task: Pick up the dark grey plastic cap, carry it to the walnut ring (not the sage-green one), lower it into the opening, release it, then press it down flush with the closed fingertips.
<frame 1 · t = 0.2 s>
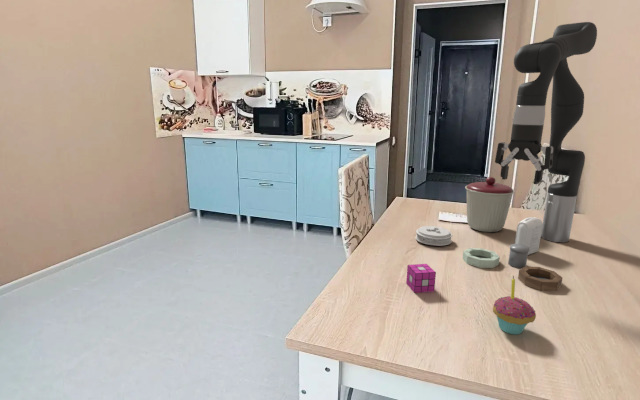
hand: (519, 181, 109), 28 cm above the table, tool pointing down, fingers open, 8 cm apart
photo printer: (525, 253, 132), on the table
lid: (432, 242, 141), on the table
walnut ring: (539, 282, 110), on the table
cupcake: (511, 329, 87), on the table
cap: (516, 264, 122), on the table
canister: (484, 228, 156), on the table
puzzle toy: (419, 288, 106), on the table
sage ring: (480, 261, 124), on the table
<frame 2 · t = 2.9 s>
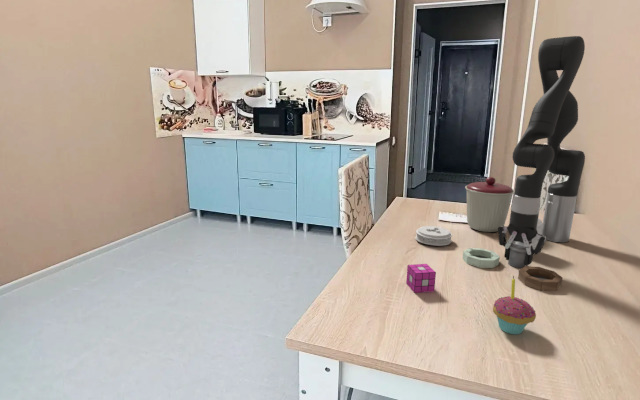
hand: (517, 261, 121), 1 cm above the table, tool pointing down, fingers closed on cap, 5 cm apart
cap: (516, 264, 122), on the table, touching gripper
everything else where it was.
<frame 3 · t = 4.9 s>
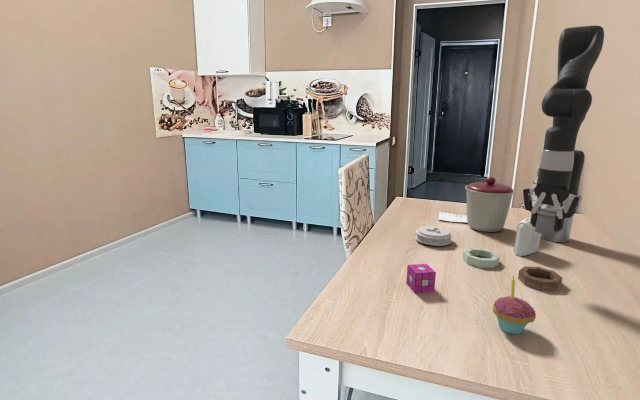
hand: (545, 228, 106), 16 cm above the table, tool pointing down, fingers closed on cap, 5 cm apart
cap: (544, 231, 106), point 15 cm above the table, touching gripper
everything else where it was.
when the fingers open (3 cm above the table, at t = 7.0 s): cap drops 1 cm, resting on walnut ring.
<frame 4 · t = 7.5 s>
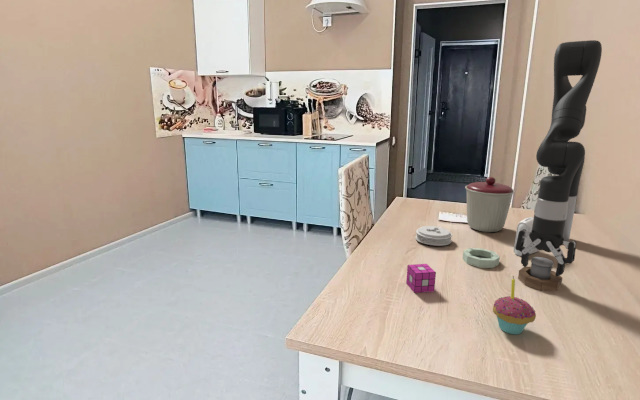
hand: (541, 270, 109), 4 cm above the table, tool pointing down, fingers open, 8 cm apart
cap: (539, 280, 110), point 1 cm above the table, touching walnut ring
everything else where it was.
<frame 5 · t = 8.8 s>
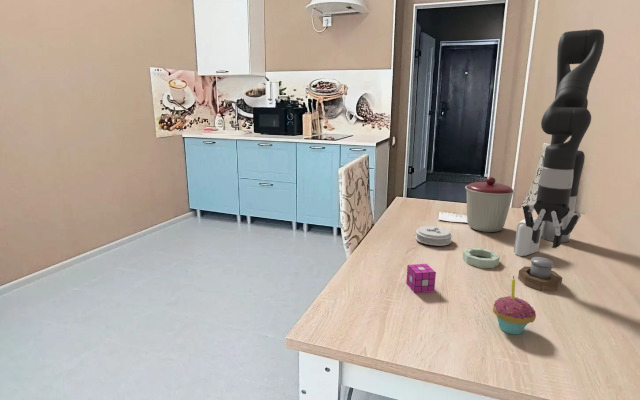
hand: (545, 244, 107), 11 cm above the table, tool pointing down, fingers open, 4 cm apart
nothing on the table moved.
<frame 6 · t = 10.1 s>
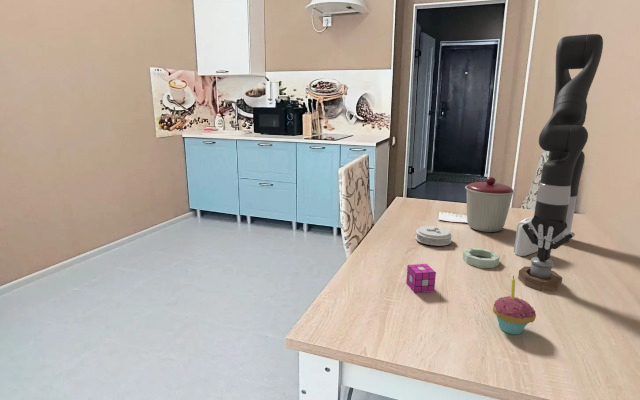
hand: (542, 260, 108), 7 cm above the table, tool pointing down, fingers closed
nothing on the table moved.
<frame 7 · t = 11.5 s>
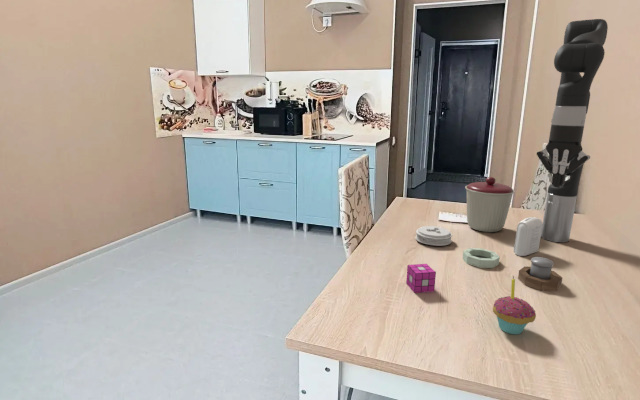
hand: (557, 186, 108), 27 cm above the table, tool pointing down, fingers closed
nothing on the table moved.
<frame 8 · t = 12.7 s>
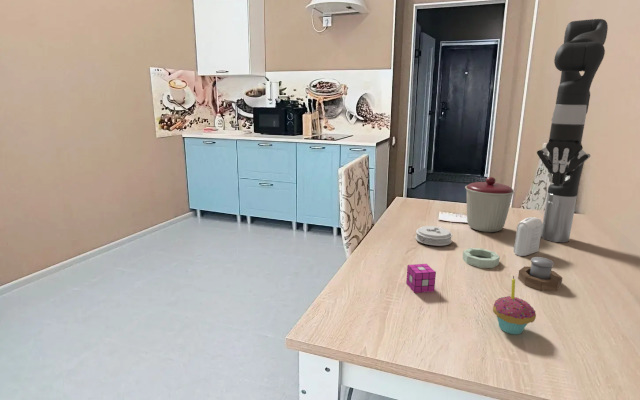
hand: (557, 185, 108), 27 cm above the table, tool pointing down, fingers closed
nothing on the table moved.
at the end: cap 0.1 cm off-centre on the walnut ring, point 0.5 cm above the walnut ring's base; cap tilted 0°; the gripper is holding nothing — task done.
